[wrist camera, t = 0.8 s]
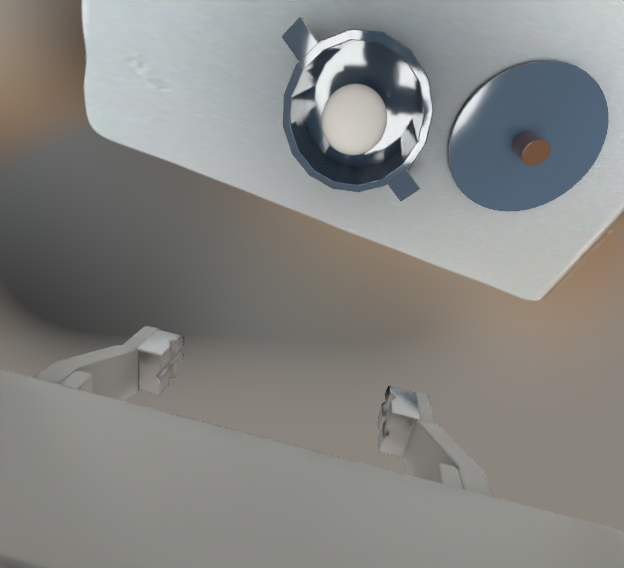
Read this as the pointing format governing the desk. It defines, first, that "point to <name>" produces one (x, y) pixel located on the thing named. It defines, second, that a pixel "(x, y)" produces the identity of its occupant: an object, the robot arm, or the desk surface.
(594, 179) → the desk surface
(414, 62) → the pot
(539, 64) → the lid
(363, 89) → the lightbulb
